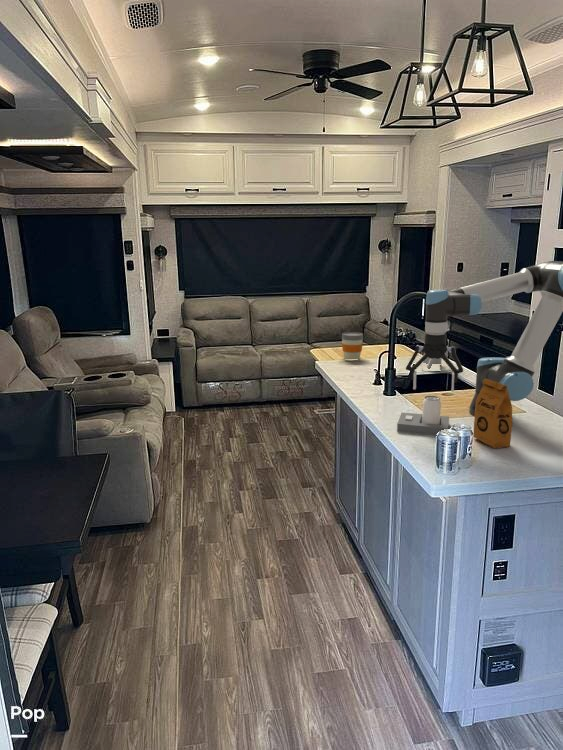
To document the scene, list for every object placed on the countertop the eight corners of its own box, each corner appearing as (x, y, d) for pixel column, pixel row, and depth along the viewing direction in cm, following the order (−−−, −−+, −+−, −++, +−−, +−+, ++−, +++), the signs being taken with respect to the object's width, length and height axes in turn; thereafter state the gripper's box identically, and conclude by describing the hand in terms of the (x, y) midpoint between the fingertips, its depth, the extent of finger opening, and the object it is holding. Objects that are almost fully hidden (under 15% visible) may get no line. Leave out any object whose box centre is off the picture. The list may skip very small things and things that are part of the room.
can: (439, 431, 206) (441, 400, 203) (421, 430, 208) (423, 399, 204) (438, 425, 212) (440, 395, 209) (421, 424, 214) (423, 394, 211)
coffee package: (490, 450, 188) (495, 388, 183) (468, 438, 200) (473, 378, 194) (515, 447, 191) (521, 385, 185) (492, 435, 202) (498, 376, 197)
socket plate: (448, 423, 214) (449, 415, 213) (447, 436, 201) (448, 426, 201) (401, 419, 220) (401, 410, 219) (397, 431, 207) (397, 422, 206)
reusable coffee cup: (339, 357, 331) (339, 332, 328) (359, 356, 333) (360, 331, 329) (343, 361, 319) (344, 336, 315) (365, 361, 320) (365, 335, 317)
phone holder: (422, 364, 312) (424, 332, 308) (441, 365, 309) (443, 333, 305) (421, 371, 296) (423, 338, 291) (441, 372, 293) (443, 338, 289)
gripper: (472, 332, 200) (468, 388, 206) (401, 330, 208) (400, 384, 214) (472, 335, 194) (468, 394, 199) (399, 333, 201) (398, 390, 207)
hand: (433, 389), depth 206 cm, fingers open, 13 cm apart
